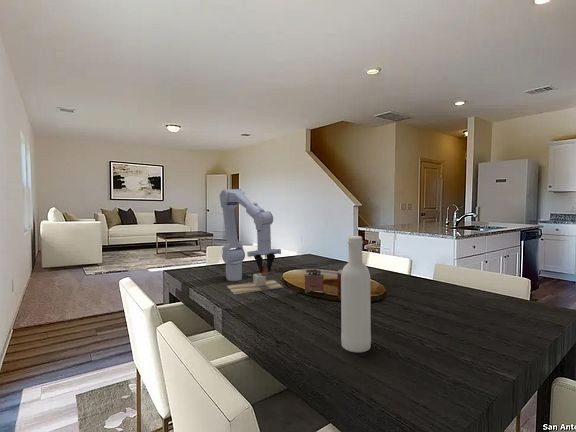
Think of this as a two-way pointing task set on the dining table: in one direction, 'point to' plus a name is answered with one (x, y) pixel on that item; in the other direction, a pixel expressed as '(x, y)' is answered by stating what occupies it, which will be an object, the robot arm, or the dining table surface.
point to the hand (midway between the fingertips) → (264, 271)
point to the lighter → (313, 280)
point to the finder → (259, 279)
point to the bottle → (355, 300)
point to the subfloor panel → (253, 287)
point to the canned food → (339, 283)
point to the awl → (264, 270)
